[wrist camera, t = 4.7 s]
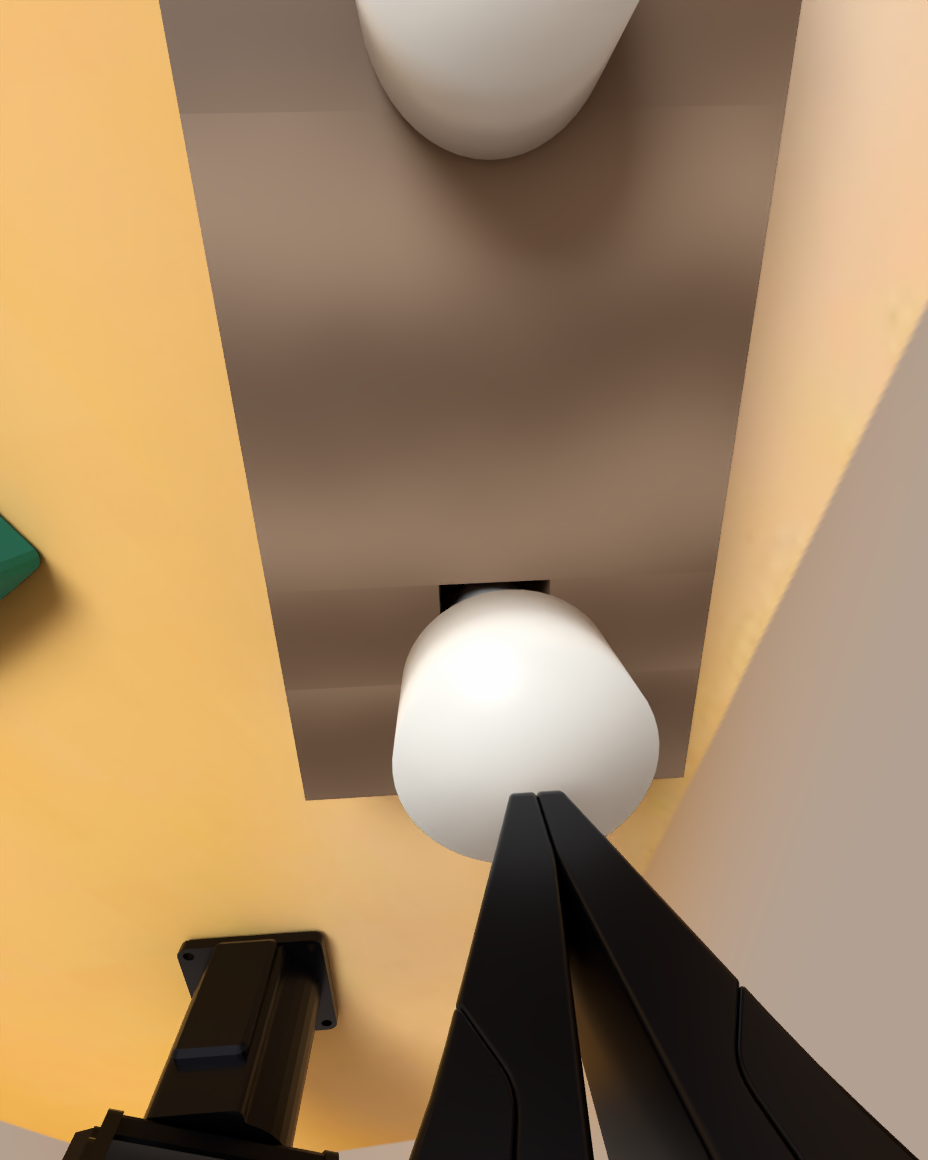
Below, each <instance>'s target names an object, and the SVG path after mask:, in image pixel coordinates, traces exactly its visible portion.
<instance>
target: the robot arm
mask: <svg viewBox="0 0 928 1160" xmlns="http://www.w3.org/2000/svg"><path fill="white" fill-rule="evenodd" d="M177 958H178V961H179V963H180V966H181V969H182V972H183V975H184V978H185V981H186V984H187V986H188V989H189V992H190V995H191V998H192V1000H191V1002H190V1005H189V1007H188V1010H187V1012H186V1015H185V1017H184V1020H183V1022H182V1025H181V1027H180V1030H179V1032H178V1034H177V1037H176V1039H175V1042H174V1044H173V1047H172V1049H171V1052H170V1054H169V1057H168V1059H167V1062H166V1064H165V1067H164V1069H163V1072H162V1074H161V1076H160V1079H159V1081H158V1084H157V1086H156V1089H155V1091H154V1094H153V1096H152V1099H151V1101H150V1104H149V1106H148V1109H147V1111H146V1113H145V1116H144V1118H143V1119H141V1118H136V1117H131V1116H126V1115H123V1113H124V1111H120V1110H115V1109H110V1108H109V1110H108V1112H107V1114H106V1117H105V1119H104V1121H103V1123H102V1125H101V1127H97V1126H94V1128H91V1129H87V1130H83V1131H80V1132H76V1133H75V1135H74V1137H73V1139H72V1141H71V1143H70V1145H69V1147H68V1149H67V1151H66V1153H65V1155H64V1157H63V1159H62V1160H339V1153H338V1152H333V1151H328V1150H325V1151H324V1152H323V1153H319V1152H314V1151H309V1150H304V1149H298V1148H293V1147H292V1146H293V1141H294V1136H295V1130H296V1125H297V1120H298V1115H299V1110H300V1104H301V1099H302V1094H303V1089H304V1084H305V1079H306V1073H307V1068H308V1063H309V1058H310V1053H311V1047H312V1042H313V1037H314V1032H315V1030H327V1029H332V1028H334V1027H335V1026H336V1025H337V1019H338V1009H337V1003H336V998H335V993H334V988H333V982H332V977H331V972H330V967H329V961H328V956H327V951H326V946H325V940H324V937H323V935H322V934H320V933H318V932H299V933H284V934H270V935H256V936H242V937H228V938H214V939H200V940H189V941H185V942H184V943H183V944H182V946H181V948H180V950H179V952H178V954H177ZM456 1008H457V1009H456V1010H455V1011H454V1013H453V1017H452V1021H451V1025H450V1029H449V1033H448V1037H447V1041H446V1044H445V1048H444V1051H443V1055H442V1058H441V1062H440V1065H439V1069H438V1072H437V1076H436V1079H435V1083H434V1086H433V1090H432V1093H431V1097H430V1100H429V1103H428V1106H427V1109H426V1112H425V1114H424V1117H423V1120H422V1123H421V1126H420V1129H419V1132H418V1135H417V1138H416V1141H415V1144H414V1147H413V1149H412V1153H411V1155H410V1158H409V1160H594V1156H593V1148H592V1140H591V1132H590V1124H589V1116H588V1108H587V1101H586V1092H585V1084H584V1077H583V1068H582V1062H583V1065H584V1069H585V1073H586V1077H587V1080H588V1084H589V1088H590V1091H591V1095H592V1099H593V1103H594V1107H595V1110H596V1114H597V1118H598V1121H599V1125H600V1129H601V1133H602V1136H603V1140H604V1144H605V1148H606V1151H607V1155H608V1159H609V1160H919V1159H918V1158H917V1157H915V1156H914V1155H913V1154H912V1153H911V1152H910V1151H909V1150H908V1149H907V1148H906V1147H905V1146H904V1145H903V1144H902V1143H900V1142H899V1141H898V1140H897V1139H896V1138H895V1137H894V1136H893V1135H892V1134H891V1133H890V1132H889V1131H888V1130H887V1129H885V1128H884V1127H883V1126H882V1125H881V1124H880V1123H879V1122H878V1121H877V1120H876V1119H875V1118H874V1117H873V1116H872V1115H871V1114H869V1112H867V1111H866V1110H865V1109H864V1108H863V1107H862V1106H861V1105H860V1104H859V1103H858V1102H857V1101H856V1100H855V1099H854V1098H853V1097H852V1096H851V1095H850V1094H849V1093H848V1092H847V1091H846V1090H845V1089H844V1088H843V1087H842V1086H840V1085H839V1084H838V1083H837V1082H836V1081H835V1080H834V1079H833V1078H832V1077H831V1076H830V1075H829V1074H828V1073H827V1072H826V1071H825V1070H824V1069H823V1068H822V1067H821V1066H820V1065H819V1064H818V1063H817V1062H816V1061H815V1060H814V1059H813V1058H812V1057H811V1056H810V1055H809V1054H808V1053H807V1052H806V1051H805V1050H804V1049H803V1048H802V1047H801V1046H800V1045H799V1044H798V1043H797V1042H796V1040H794V1039H793V1037H792V1036H791V1035H789V1033H788V1032H787V1031H786V1030H785V1029H784V1028H783V1027H782V1026H781V1025H780V1024H779V1023H778V1022H777V1021H776V1020H775V1019H774V1018H773V1017H772V1016H771V1015H770V1014H769V1013H768V1011H767V1010H766V1009H765V1008H764V1007H763V1006H762V1005H761V1004H760V1003H759V1002H758V1001H757V1000H756V999H755V997H754V996H753V995H752V994H751V993H750V992H749V991H748V990H747V989H746V988H745V987H743V986H741V987H740V988H739V981H738V979H737V978H736V977H735V976H734V975H733V974H732V973H731V972H730V971H729V970H728V969H727V967H726V966H725V965H724V964H723V963H722V962H721V961H720V960H719V959H718V958H717V957H716V956H715V955H714V954H713V953H712V951H711V950H710V949H709V948H708V947H707V946H706V945H705V944H704V943H703V942H702V941H701V940H700V938H698V936H696V934H695V933H694V932H693V931H692V930H691V929H690V928H689V927H688V926H687V925H686V923H685V922H684V921H683V920H682V919H681V918H680V917H679V916H678V915H677V914H676V913H675V912H674V910H673V909H672V908H671V907H670V906H669V905H668V904H667V903H666V902H665V901H664V900H663V899H662V898H661V897H660V896H659V895H658V894H657V892H656V891H655V890H654V889H653V888H652V887H651V886H650V885H649V884H648V883H647V881H646V880H645V879H644V878H643V877H642V876H641V875H640V874H639V873H638V872H637V871H636V870H635V869H634V867H633V866H632V865H631V864H630V863H629V862H628V861H627V860H626V859H625V858H624V857H623V856H622V855H621V853H620V852H619V851H618V850H617V849H616V848H615V847H614V846H613V845H612V844H611V843H610V842H609V841H608V839H607V838H606V837H605V836H604V835H603V834H602V833H601V832H600V831H599V830H598V829H597V828H596V827H595V825H594V824H593V823H592V822H591V821H590V820H589V819H588V818H587V817H586V816H585V815H584V814H583V813H582V811H581V810H580V809H579V808H578V807H577V806H576V805H575V804H574V803H573V802H572V801H571V800H570V799H569V797H568V796H567V795H566V794H565V793H564V792H562V791H560V790H555V791H540V792H538V793H537V795H535V793H533V792H523V793H512V794H511V795H510V796H509V800H508V803H507V807H506V811H505V815H504V819H503V823H502V827H501V831H500V835H499V839H498V843H497V847H496V850H495V854H494V858H493V862H492V866H491V870H490V874H489V878H488V882H487V886H486V890H485V894H484V897H483V901H482V905H481V909H480V913H479V917H478V921H477V925H476V929H475V933H474V937H473V940H472V944H471V948H470V952H469V956H468V960H467V964H466V968H465V972H464V976H463V980H462V983H461V987H460V991H459V995H458V999H457V1003H456ZM581 1058H582V1060H581Z"/></svg>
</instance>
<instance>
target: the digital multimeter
mask: <svg viewBox="0 0 928 1160" xmlns="http://www.w3.org/2000/svg"><path fill="white" fill-rule="evenodd" d="M39 565H40V556H39V555H38V553H37V552H36V550H35V549H34V548H33V547H32V546H31V545H30V544H29V543H28V542H27V541H26V540H25V539H24V538H23V537H22V536H21V535H20V534H19V533H18V532H17V531H16V530H15V529H14V528H13V527H12V526H11V525H10V524H8V523H7V522H6V521H5V520H4V519H3V518H2V517H1V516H0V600H1V599H2V598H4V597H5V596H6V595H7V594H9V593H10V592H11V591H12V590H13V589H15V588H16V587H17V586H18V585H19V584H20V583H21V582H23V581H24V580H25V579H26V578H27V577H28V576H29V575H31V574H32V573H33V572H34V571H35V570H36V569H37V568H38V566H39Z"/></svg>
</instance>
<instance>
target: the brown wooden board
mask: <svg viewBox="0 0 928 1160" xmlns="http://www.w3.org/2000/svg"><path fill="white" fill-rule="evenodd" d="M801 2H802V0H639V2H638V4H637V6H636V8H635V10H634V12H633V14H632V16H631V18H630V20H629V22H628V24H627V25H626V27H625V29H624V31H623V33H622V35H621V37H620V39H619V41H618V43H617V45H616V47H615V49H614V51H613V53H612V55H611V57H610V58H609V60H608V62H607V64H606V66H605V68H604V70H603V72H602V74H601V76H600V78H599V80H598V82H597V84H596V85H595V87H594V89H593V91H592V92H591V94H590V96H589V98H588V99H587V101H586V102H585V104H584V105H583V106H582V108H581V109H580V111H579V112H578V113H577V115H576V116H575V117H574V118H573V119H572V120H571V121H570V122H569V123H568V124H567V125H566V127H565V128H563V129H562V130H561V131H560V132H559V133H557V134H556V135H555V136H554V137H553V138H552V139H550V140H548V141H547V142H545V143H544V144H542V145H540V146H539V147H537V148H535V149H533V150H531V151H528V152H526V153H524V154H521V155H517V156H514V157H510V158H505V159H495V160H484V159H473V158H469V157H464V156H460V155H457V154H455V153H452V152H450V151H447V150H445V149H443V148H441V147H439V146H438V145H436V144H434V143H432V142H431V141H429V140H428V139H427V138H425V137H424V136H423V135H422V134H420V133H419V132H418V131H416V130H415V129H414V128H413V127H412V126H411V125H410V124H409V123H408V122H407V120H406V119H405V118H404V117H403V116H402V115H401V114H400V112H399V111H398V110H397V108H396V107H395V106H394V105H393V103H392V102H391V100H390V99H389V97H388V95H387V94H386V92H385V90H384V89H383V87H382V85H381V84H380V81H379V79H378V77H377V75H376V73H375V70H374V68H373V66H372V64H371V61H370V58H369V55H368V52H367V49H366V46H365V42H364V38H363V34H362V29H361V25H360V21H359V16H358V11H357V6H356V2H355V0H159V4H160V9H161V14H162V20H163V25H164V31H165V36H166V42H167V47H168V53H169V58H170V63H171V69H172V74H173V80H174V85H175V91H176V96H177V102H178V107H179V113H180V118H181V123H182V129H183V134H184V140H185V145H186V151H187V156H188V162H189V167H190V172H191V178H192V183H193V189H194V194H195V200H196V205H197V211H198V216H199V222H200V227H201V232H202V238H203V243H204V249H205V254H206V260H207V265H208V271H209V276H210V281H211V287H212V292H213V298H214V303H215V309H216V314H217V320H218V325H219V331H220V336H221V341H222V347H223V352H224V358H225V363H226V369H227V374H228V380H229V385H230V390H231V396H232V401H233V407H234V412H235V418H236V423H237V429H238V434H239V440H240V445H241V450H242V456H243V461H244V467H245V472H246V478H247V483H248V489H249V494H250V499H251V505H252V510H253V516H254V521H255V527H256V532H257V538H258V543H259V549H260V554H261V559H262V565H263V570H264V576H265V581H266V587H267V592H268V598H269V603H270V608H271V614H272V619H273V625H274V630H275V636H276V641H277V647H278V652H279V658H280V663H281V668H282V674H283V679H284V685H285V690H286V696H287V701H288V707H289V712H290V717H291V723H292V728H293V734H294V739H295V745H296V750H297V756H298V761H299V767H300V772H301V777H302V783H303V788H304V794H305V799H306V801H307V800H323V799H340V798H356V797H372V796H388V795H398V794H397V791H396V788H395V784H394V779H393V772H392V757H393V749H394V741H395V733H396V725H397V716H398V708H399V700H400V692H401V684H402V677H403V670H404V666H405V663H406V660H407V657H408V655H409V652H410V650H411V648H412V646H413V644H414V643H415V641H416V640H417V638H418V637H419V635H420V634H421V633H422V632H423V630H424V629H425V628H426V627H427V626H428V625H429V624H430V623H431V622H432V621H433V620H434V619H435V618H436V617H437V616H439V615H440V614H441V613H442V603H441V585H447V584H468V583H489V582H510V581H525V590H529V591H536V592H541V593H544V594H548V595H552V596H554V597H557V598H559V599H561V600H564V601H566V602H567V603H569V604H571V605H573V606H574V607H576V608H577V609H579V610H580V611H581V612H582V613H584V614H585V615H586V616H587V617H588V618H589V619H590V620H591V621H592V622H593V623H594V624H595V625H596V627H597V628H598V629H599V631H600V632H601V634H602V635H603V637H604V638H605V640H606V641H607V643H608V644H609V646H610V647H611V649H612V650H613V652H614V653H615V654H616V656H617V657H618V659H619V660H620V662H621V663H622V665H623V666H624V668H625V669H626V671H627V672H628V674H629V675H630V677H631V678H632V680H633V681H634V683H635V684H636V686H637V687H638V688H639V690H640V691H641V693H642V694H643V696H644V697H645V699H646V700H647V702H648V704H649V706H650V708H651V710H652V712H653V714H654V717H655V721H656V724H657V728H658V735H659V758H658V763H657V768H656V772H655V775H654V777H653V779H662V778H679V777H684V770H685V763H686V757H687V750H688V744H689V737H690V731H691V724H692V717H693V711H694V704H695V698H696V691H697V685H698V678H699V672H700V665H701V658H702V652H703V645H704V639H705V632H706V626H707V619H708V612H709V606H710V599H711V593H712V586H713V580H714V573H715V567H716V560H717V553H718V547H719V540H720V534H721V527H722V521H723V514H724V507H725V501H726V494H727V488H728V481H729V475H730V468H731V462H732V455H733V448H734V442H735V435H736V429H737V422H738V416H739V409H740V402H741V396H742V389H743V383H744V376H745V370H746V363H747V357H748V350H749V343H750V337H751V330H752V324H753V317H754V311H755V304H756V297H757V291H758V284H759V278H760V271H761V265H762V258H763V252H764V245H765V238H766V232H767V225H768V219H769V212H770V206H771V199H772V193H773V186H774V179H775V173H776V166H777V160H778V153H779V147H780V140H781V133H782V127H783V120H784V114H785V107H786V101H787V94H788V88H789V81H790V74H791V68H792V61H793V55H794V48H795V42H796V35H797V28H798V22H799V15H800V9H801Z"/></svg>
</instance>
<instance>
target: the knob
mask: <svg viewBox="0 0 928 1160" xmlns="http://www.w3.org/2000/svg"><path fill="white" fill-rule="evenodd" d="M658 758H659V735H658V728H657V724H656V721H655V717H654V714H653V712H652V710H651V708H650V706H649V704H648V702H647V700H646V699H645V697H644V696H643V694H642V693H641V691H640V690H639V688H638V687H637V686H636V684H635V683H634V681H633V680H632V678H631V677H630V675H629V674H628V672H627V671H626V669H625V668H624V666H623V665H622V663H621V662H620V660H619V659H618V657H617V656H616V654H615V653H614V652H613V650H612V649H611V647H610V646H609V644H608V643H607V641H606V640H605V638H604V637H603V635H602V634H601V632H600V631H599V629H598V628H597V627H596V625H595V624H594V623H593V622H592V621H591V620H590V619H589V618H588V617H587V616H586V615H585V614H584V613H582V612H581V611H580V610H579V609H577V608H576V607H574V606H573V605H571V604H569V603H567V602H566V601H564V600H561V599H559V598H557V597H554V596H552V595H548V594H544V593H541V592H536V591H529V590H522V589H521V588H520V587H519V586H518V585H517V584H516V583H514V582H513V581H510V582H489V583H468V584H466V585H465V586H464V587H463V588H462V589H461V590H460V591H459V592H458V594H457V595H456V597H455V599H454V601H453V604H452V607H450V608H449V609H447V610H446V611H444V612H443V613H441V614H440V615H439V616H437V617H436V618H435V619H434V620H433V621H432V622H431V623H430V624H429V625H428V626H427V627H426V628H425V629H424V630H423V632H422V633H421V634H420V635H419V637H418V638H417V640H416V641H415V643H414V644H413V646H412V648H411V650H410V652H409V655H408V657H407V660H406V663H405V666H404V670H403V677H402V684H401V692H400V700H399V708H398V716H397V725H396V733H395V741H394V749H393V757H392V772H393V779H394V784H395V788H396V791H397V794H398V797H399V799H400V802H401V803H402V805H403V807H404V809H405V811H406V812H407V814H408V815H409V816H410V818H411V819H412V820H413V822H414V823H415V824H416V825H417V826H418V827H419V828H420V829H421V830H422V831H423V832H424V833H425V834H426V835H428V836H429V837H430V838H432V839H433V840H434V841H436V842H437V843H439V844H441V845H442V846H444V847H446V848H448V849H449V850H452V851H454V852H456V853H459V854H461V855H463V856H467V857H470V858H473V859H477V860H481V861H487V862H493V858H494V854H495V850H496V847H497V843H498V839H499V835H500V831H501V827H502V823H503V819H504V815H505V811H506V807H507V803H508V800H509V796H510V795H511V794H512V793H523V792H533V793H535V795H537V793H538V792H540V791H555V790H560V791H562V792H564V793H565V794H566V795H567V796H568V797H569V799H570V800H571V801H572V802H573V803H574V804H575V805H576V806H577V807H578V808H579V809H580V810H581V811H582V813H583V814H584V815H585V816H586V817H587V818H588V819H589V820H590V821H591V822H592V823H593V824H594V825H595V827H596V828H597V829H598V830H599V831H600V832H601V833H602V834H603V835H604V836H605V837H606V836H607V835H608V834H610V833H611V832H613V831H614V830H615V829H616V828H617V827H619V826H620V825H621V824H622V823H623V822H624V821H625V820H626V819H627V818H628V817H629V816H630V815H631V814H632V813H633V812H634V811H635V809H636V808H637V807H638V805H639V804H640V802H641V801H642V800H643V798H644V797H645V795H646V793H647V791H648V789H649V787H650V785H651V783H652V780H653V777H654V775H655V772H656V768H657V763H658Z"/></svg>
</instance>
